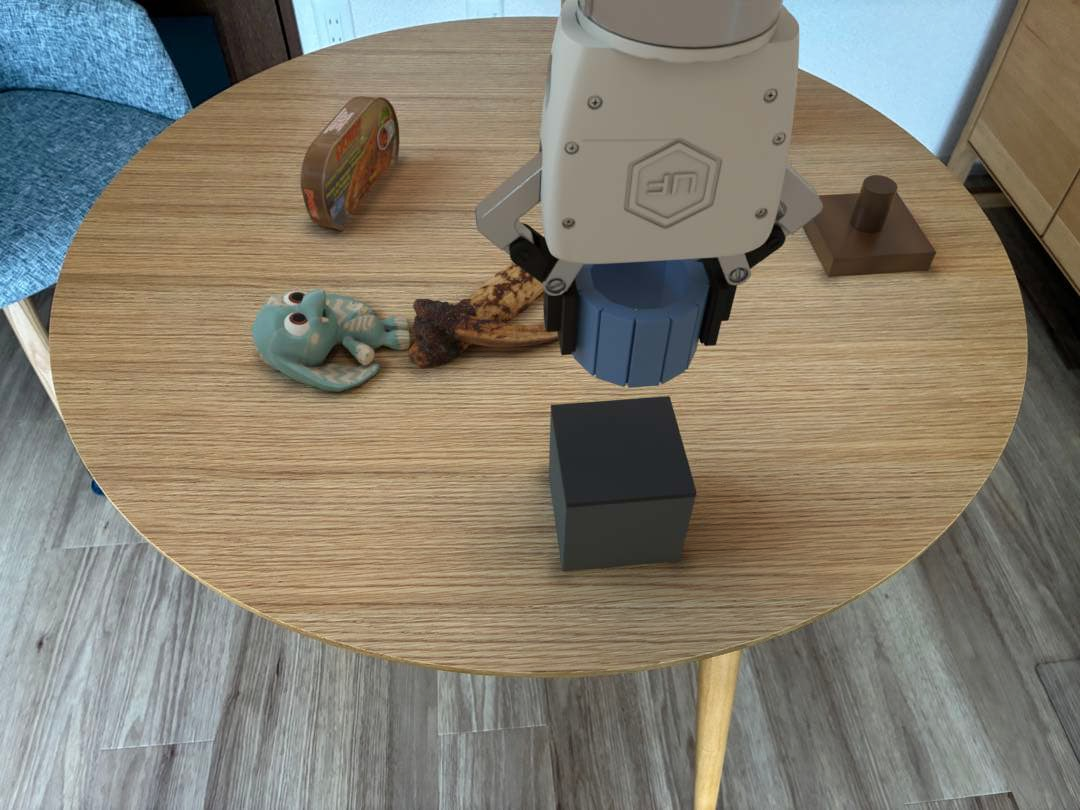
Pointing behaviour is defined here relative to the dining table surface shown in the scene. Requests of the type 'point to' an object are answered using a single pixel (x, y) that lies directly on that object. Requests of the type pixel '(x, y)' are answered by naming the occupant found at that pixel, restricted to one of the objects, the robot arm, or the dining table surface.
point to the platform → (868, 232)
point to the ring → (640, 319)
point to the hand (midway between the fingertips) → (633, 329)
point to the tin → (349, 159)
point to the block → (619, 483)
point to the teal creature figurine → (323, 337)
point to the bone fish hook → (477, 319)
